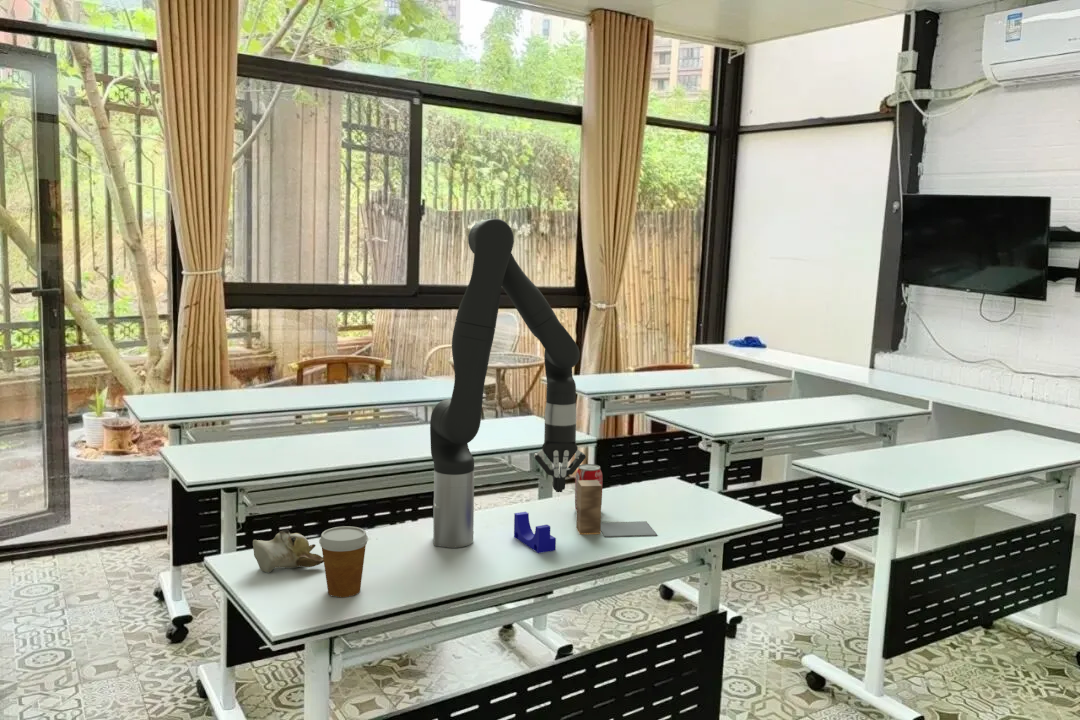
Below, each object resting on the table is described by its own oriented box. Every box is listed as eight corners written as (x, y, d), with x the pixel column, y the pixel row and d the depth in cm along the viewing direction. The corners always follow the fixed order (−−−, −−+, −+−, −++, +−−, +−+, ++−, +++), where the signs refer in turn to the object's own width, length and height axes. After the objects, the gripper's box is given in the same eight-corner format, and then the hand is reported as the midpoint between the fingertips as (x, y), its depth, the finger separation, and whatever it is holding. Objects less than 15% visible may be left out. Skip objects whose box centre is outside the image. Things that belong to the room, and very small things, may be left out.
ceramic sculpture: (246, 525, 187) (315, 518, 195) (244, 564, 188) (313, 556, 196) (260, 540, 178) (331, 533, 186) (258, 582, 179) (329, 572, 187)
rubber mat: (604, 537, 210) (604, 535, 210) (595, 523, 220) (595, 522, 220) (657, 535, 212) (657, 534, 212) (646, 522, 222) (646, 521, 222)
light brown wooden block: (580, 534, 212) (581, 486, 210) (576, 527, 217) (577, 480, 215) (600, 533, 213) (601, 485, 211) (596, 527, 218) (597, 480, 216)
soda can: (570, 508, 232) (571, 464, 231) (595, 506, 234) (597, 462, 233) (579, 516, 226) (581, 471, 224) (605, 514, 228) (607, 469, 226)
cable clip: (555, 550, 201) (556, 525, 200) (538, 553, 199) (538, 528, 198) (530, 534, 211) (531, 510, 211) (514, 537, 209) (514, 513, 208)
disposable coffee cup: (309, 593, 174) (308, 534, 172) (345, 578, 182) (344, 522, 180) (343, 605, 169) (342, 545, 167) (378, 589, 177) (378, 531, 175)
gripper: (535, 424, 205) (533, 496, 208) (590, 424, 207) (588, 495, 210) (530, 418, 213) (529, 487, 215) (584, 417, 215) (582, 486, 217)
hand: (558, 491), depth 212 cm, fingers closed
